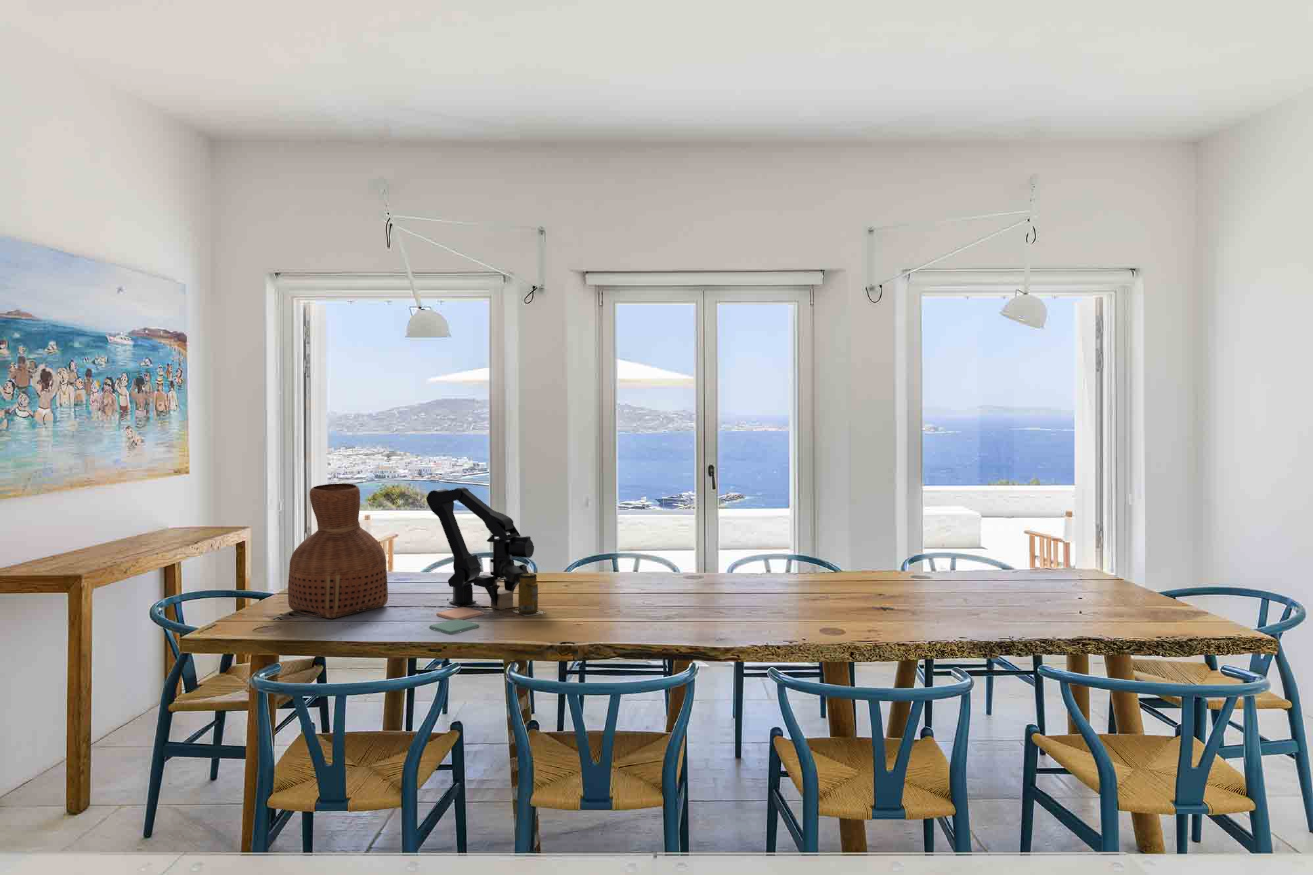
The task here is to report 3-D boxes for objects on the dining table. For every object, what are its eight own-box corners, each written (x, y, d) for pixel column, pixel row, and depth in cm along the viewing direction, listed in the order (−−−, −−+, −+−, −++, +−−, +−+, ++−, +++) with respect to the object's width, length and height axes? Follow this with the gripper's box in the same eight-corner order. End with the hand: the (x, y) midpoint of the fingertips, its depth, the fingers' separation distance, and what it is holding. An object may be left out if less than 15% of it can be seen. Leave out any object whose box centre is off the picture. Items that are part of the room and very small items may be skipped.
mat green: (429, 628, 221) (429, 625, 221) (458, 621, 229) (458, 618, 229) (450, 634, 215) (450, 631, 215) (479, 627, 223) (479, 624, 223)
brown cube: (490, 607, 247) (490, 592, 247) (503, 604, 251) (503, 589, 251) (500, 609, 244) (500, 594, 244) (513, 606, 248) (513, 591, 247)
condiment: (532, 608, 246) (532, 571, 246) (546, 613, 239) (546, 575, 239) (512, 611, 241) (512, 574, 241) (525, 617, 235) (525, 578, 235)
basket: (271, 613, 238) (270, 485, 238) (344, 595, 263) (343, 480, 262) (333, 624, 225) (332, 489, 225) (403, 605, 250) (403, 483, 249)
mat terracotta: (436, 615, 236) (436, 612, 236) (463, 609, 244) (463, 606, 244) (456, 620, 230) (456, 618, 230) (482, 614, 238) (482, 611, 238)
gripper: (495, 562, 235) (495, 613, 235) (540, 554, 249) (540, 602, 249) (472, 558, 242) (472, 607, 242) (517, 551, 256) (517, 597, 256)
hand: (501, 603), depth 247 cm, fingers closed on brown cube, 5 cm apart
